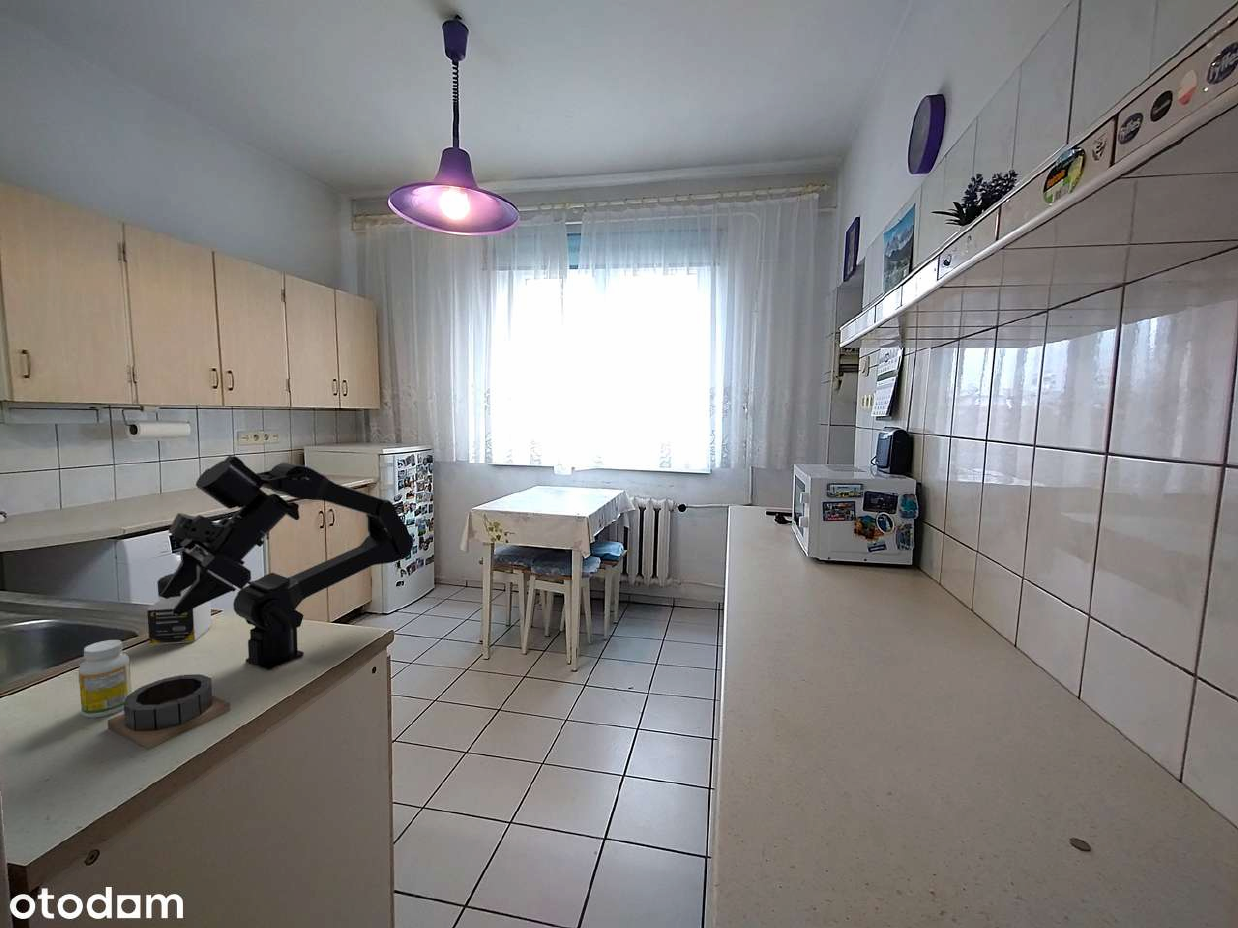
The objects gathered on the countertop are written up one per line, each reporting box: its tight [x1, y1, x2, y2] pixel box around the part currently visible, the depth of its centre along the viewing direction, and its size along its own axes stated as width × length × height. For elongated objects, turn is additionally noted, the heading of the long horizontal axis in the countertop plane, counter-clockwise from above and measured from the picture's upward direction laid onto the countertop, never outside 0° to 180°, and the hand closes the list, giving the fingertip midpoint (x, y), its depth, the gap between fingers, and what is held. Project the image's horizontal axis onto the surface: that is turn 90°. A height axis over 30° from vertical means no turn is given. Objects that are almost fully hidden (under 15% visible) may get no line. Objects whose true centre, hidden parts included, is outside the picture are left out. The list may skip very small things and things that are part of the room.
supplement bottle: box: [78, 639, 132, 719], centre depth 78 cm, size 5×5×10 cm
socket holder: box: [107, 673, 231, 750], centre depth 76 cm, size 10×10×4 cm
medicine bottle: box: [146, 573, 212, 646], centre depth 102 cm, size 7×7×12 cm
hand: (169, 605), depth 83 cm, fingers open, 9 cm apart
